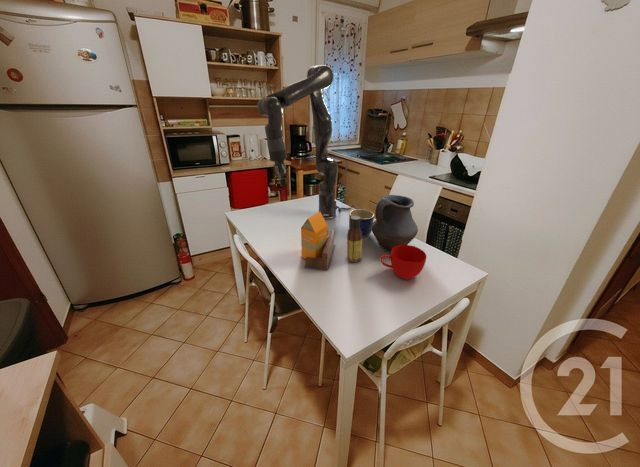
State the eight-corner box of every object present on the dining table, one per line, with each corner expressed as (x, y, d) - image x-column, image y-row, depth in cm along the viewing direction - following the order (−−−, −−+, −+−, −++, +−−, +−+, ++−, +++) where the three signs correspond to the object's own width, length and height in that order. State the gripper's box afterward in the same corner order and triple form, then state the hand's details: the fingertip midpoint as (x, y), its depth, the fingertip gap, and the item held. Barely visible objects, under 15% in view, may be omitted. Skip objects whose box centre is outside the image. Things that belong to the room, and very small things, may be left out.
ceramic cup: (375, 264, 111) (378, 244, 106) (416, 265, 110) (420, 245, 106) (381, 284, 99) (384, 262, 95) (426, 285, 99) (431, 263, 94)
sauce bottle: (362, 256, 116) (366, 215, 107) (359, 264, 111) (363, 221, 101) (347, 253, 118) (350, 213, 108) (344, 261, 112) (347, 219, 103)
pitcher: (423, 250, 121) (434, 199, 110) (389, 264, 111) (397, 209, 99) (391, 232, 137) (398, 186, 125) (358, 243, 127) (362, 194, 115)
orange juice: (327, 254, 118) (328, 213, 108) (315, 263, 111) (315, 220, 102) (313, 248, 122) (313, 209, 112) (301, 257, 115) (300, 215, 106)
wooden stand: (305, 267, 109) (305, 251, 105) (315, 243, 126) (315, 229, 122) (327, 270, 107) (327, 253, 103) (334, 245, 124) (334, 230, 121)
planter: (363, 226, 143) (365, 207, 138) (377, 236, 133) (379, 216, 128) (343, 230, 138) (344, 211, 133) (356, 241, 129) (358, 220, 123)
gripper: (290, 149, 110) (296, 188, 119) (279, 145, 121) (286, 181, 129) (273, 152, 107) (280, 192, 116) (264, 148, 118) (271, 185, 126)
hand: (283, 186), depth 123 cm, fingers closed
